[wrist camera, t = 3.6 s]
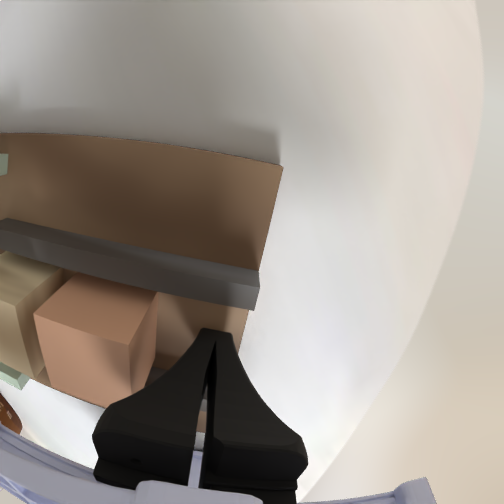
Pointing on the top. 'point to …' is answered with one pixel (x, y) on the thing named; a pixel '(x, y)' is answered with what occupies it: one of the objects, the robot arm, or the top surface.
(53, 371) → the terracotta block
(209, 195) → the groove board
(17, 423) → the food container
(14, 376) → the tray
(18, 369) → the birch block
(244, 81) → the top surface
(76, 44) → the top surface
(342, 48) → the top surface
